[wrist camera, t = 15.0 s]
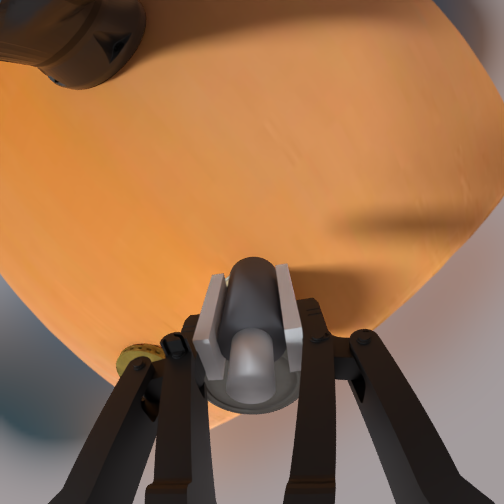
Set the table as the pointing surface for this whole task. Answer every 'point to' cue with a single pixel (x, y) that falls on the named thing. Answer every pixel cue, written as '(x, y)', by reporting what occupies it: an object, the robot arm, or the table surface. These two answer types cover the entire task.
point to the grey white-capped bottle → (252, 330)
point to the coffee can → (283, 396)
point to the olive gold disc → (136, 351)
